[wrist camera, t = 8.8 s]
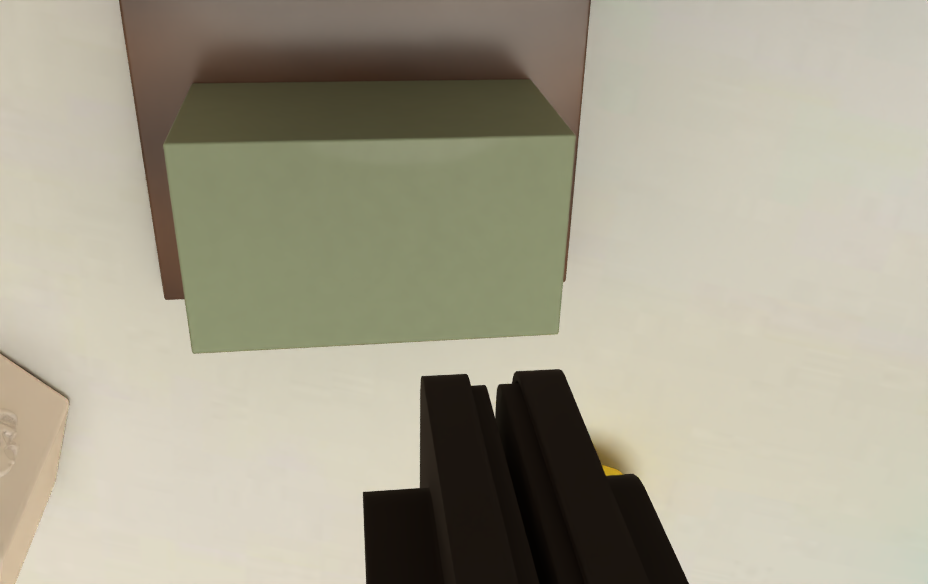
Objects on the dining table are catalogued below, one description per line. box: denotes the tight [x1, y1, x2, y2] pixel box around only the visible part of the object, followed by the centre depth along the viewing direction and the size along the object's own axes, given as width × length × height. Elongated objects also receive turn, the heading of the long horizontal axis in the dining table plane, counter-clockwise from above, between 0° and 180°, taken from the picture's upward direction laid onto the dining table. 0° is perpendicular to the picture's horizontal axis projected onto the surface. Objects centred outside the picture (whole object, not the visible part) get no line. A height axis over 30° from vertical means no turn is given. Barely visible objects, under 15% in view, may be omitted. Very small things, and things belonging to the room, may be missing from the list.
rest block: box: [163, 79, 576, 354], centre depth 30 cm, size 7×12×6 cm, turn 88°
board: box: [119, 0, 591, 300], centre depth 31 cm, size 22×16×1 cm
